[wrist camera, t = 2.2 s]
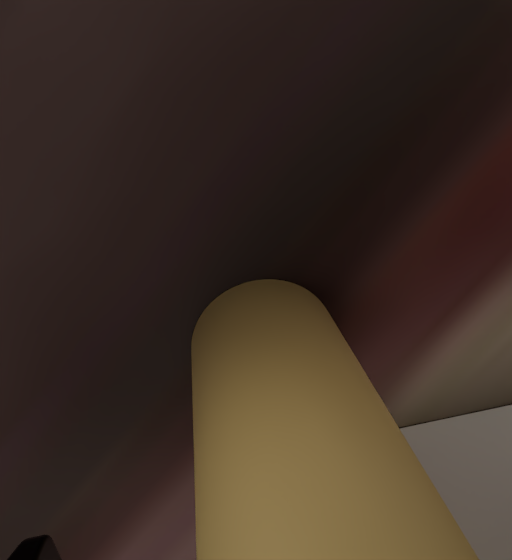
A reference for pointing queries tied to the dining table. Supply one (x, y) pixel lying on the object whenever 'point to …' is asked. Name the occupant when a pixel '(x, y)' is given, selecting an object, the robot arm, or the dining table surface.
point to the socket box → (472, 474)
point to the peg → (301, 442)
